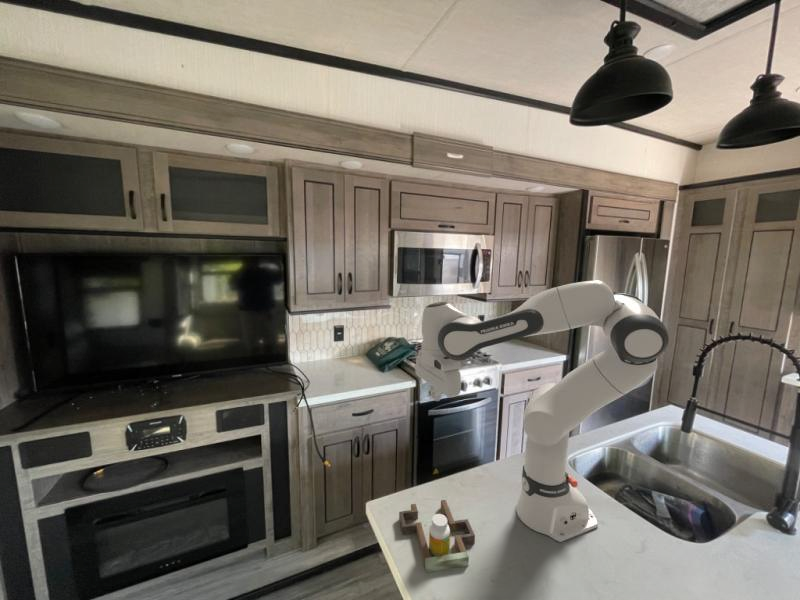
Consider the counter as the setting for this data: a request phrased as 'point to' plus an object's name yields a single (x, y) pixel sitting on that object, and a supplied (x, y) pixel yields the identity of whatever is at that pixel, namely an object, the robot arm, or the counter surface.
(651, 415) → the counter surface
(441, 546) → the supplement bottle
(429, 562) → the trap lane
